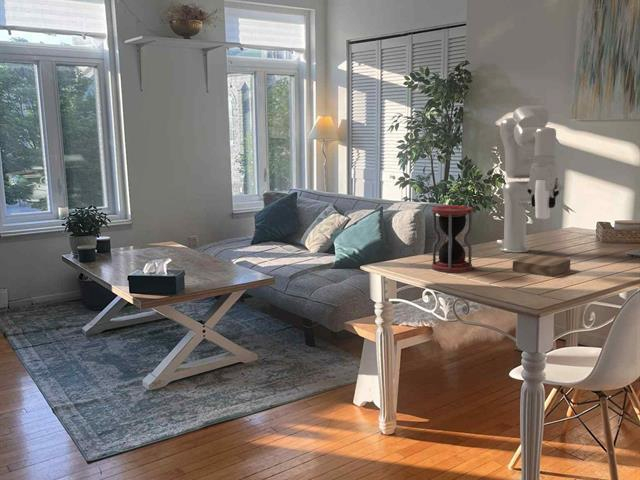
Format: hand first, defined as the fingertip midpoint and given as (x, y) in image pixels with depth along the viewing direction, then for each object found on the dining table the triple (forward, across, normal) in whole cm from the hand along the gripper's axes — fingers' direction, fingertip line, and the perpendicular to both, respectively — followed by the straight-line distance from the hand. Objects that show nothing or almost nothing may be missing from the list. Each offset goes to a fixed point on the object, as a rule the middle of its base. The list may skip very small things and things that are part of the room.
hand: (543, 206), depth 244 cm
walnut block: (+25, 0, 0) cm, 25 cm away
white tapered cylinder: (+5, 0, 0) cm, 5 cm away
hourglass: (+26, -29, -19) cm, 43 cm away
